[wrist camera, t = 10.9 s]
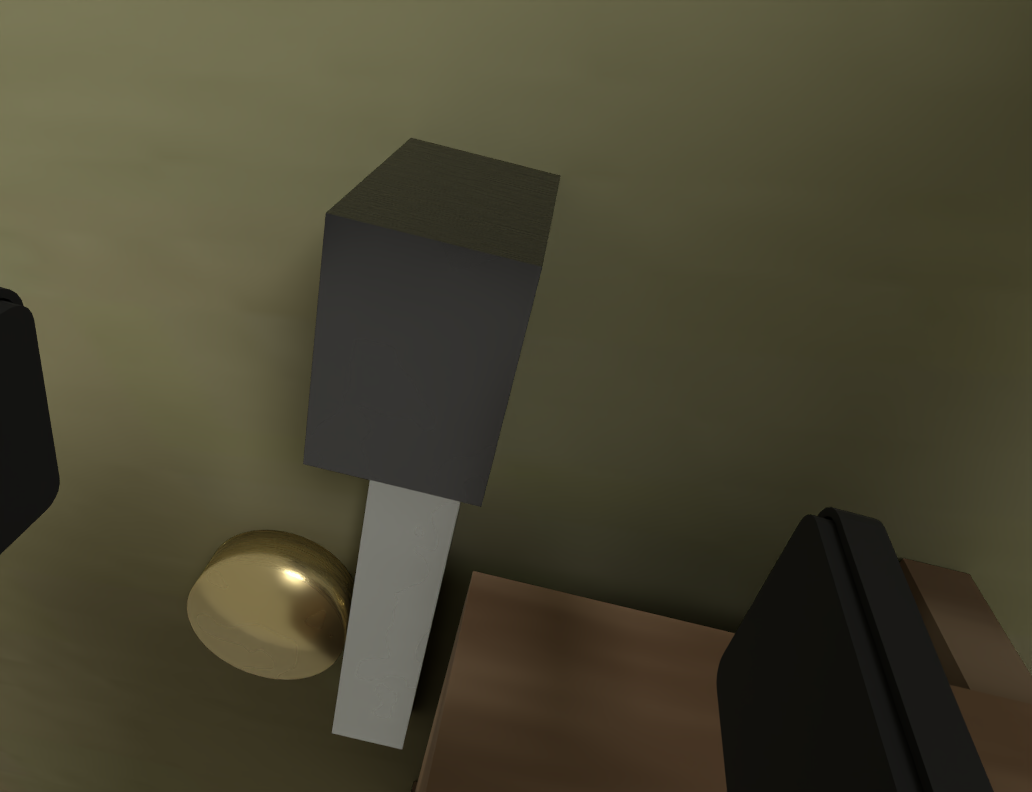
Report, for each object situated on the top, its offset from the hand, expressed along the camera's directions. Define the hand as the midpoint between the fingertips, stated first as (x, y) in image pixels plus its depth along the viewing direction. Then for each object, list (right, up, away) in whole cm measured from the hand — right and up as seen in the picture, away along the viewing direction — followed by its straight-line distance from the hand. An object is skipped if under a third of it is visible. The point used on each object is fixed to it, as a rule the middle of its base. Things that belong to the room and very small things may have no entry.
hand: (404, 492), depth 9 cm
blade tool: (-1, -2, +13) cm, 13 cm away
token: (-6, -5, +16) cm, 18 cm away
